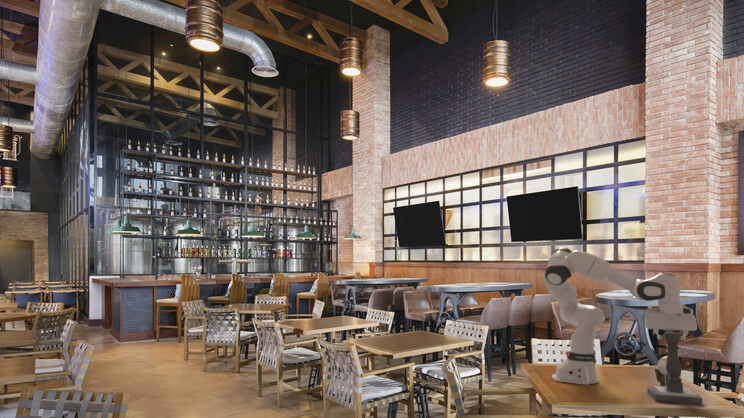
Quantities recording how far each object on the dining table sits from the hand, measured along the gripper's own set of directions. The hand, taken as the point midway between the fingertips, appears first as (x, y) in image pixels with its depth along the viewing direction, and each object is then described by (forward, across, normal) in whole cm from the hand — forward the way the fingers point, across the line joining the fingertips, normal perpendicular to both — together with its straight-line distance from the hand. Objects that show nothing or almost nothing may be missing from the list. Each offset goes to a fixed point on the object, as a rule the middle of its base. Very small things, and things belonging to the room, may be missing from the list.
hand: (671, 339), depth 219 cm
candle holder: (+22, 0, 0) cm, 22 cm away
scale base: (+26, 0, +2) cm, 26 cm away
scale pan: (+23, 0, 0) cm, 23 cm away
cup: (+26, +2, +24) cm, 36 cm away
